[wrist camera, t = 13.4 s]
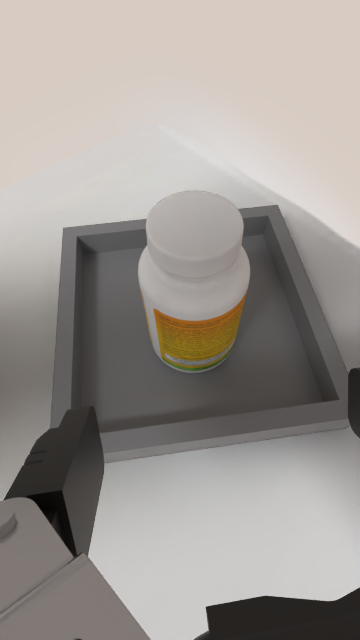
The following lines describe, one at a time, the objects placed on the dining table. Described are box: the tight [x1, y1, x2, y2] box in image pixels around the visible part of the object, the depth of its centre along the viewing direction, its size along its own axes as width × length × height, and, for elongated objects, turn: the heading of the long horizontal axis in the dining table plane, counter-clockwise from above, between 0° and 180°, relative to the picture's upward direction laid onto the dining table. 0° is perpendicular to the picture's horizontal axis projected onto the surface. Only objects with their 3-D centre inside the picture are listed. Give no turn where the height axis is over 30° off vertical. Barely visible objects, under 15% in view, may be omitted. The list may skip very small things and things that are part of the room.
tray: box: [50, 205, 350, 463], centre depth 22 cm, size 16×16×2 cm
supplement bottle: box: [138, 191, 250, 373], centre depth 18 cm, size 5×5×10 cm
